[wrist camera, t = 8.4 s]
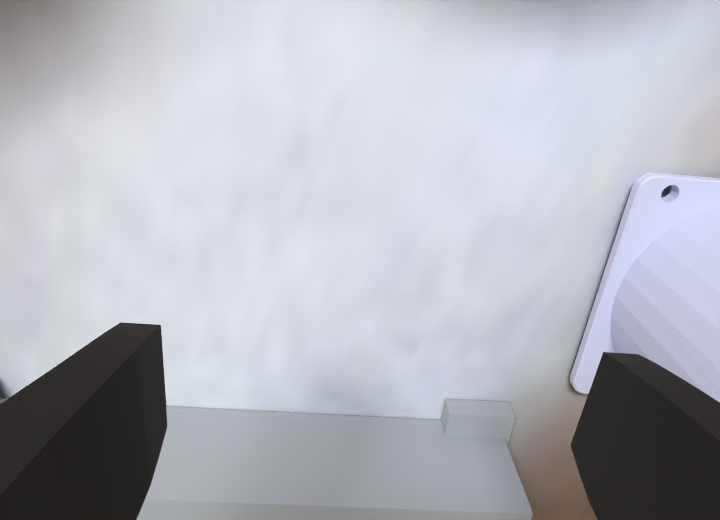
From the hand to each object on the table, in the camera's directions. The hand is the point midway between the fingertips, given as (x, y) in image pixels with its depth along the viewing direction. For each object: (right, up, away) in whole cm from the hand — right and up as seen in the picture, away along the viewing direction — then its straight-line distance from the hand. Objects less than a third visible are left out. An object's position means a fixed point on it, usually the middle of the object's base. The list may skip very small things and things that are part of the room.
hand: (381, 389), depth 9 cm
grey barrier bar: (-5, -4, +11) cm, 13 cm away
